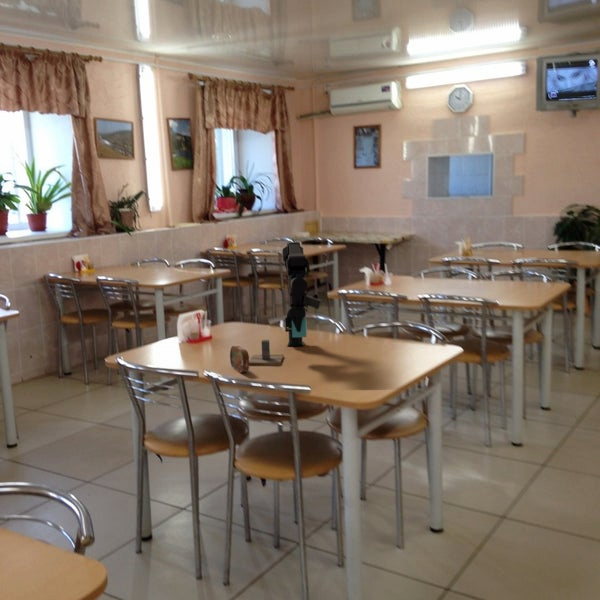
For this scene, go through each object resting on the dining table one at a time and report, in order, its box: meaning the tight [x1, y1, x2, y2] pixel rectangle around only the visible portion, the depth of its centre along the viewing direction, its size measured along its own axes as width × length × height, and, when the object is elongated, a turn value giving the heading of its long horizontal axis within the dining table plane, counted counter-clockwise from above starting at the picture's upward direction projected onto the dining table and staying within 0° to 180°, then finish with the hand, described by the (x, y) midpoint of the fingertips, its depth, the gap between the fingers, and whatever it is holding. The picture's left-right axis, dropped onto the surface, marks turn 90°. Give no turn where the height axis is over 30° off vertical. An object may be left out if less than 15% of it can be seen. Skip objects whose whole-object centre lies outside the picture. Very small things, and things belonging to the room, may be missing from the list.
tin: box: [229, 345, 250, 374], centre depth 254 cm, size 15×3×8 cm, turn 23°
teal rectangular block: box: [292, 316, 308, 338], centre depth 262 cm, size 5×5×7 cm
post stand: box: [249, 339, 285, 366], centre depth 265 cm, size 12×12×8 cm
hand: (299, 330), depth 262 cm, fingers closed on teal rectangular block, 5 cm apart
